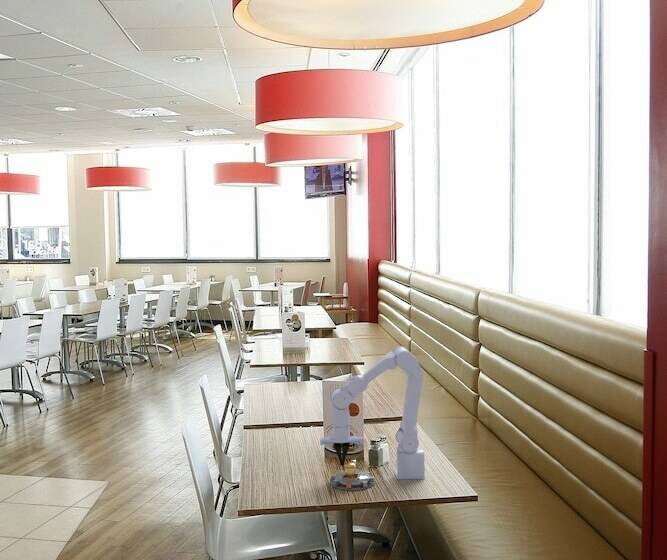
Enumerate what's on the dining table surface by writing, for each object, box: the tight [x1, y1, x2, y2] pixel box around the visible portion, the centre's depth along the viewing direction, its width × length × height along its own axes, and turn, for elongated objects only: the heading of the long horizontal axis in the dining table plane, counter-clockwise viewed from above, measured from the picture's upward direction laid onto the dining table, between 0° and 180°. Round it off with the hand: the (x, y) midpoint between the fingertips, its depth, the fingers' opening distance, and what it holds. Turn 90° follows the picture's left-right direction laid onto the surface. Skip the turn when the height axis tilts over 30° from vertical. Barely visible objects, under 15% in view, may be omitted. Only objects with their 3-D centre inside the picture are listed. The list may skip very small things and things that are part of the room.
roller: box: [344, 461, 355, 478], centre depth 240 cm, size 3×3×5 cm
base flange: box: [329, 478, 376, 492], centre depth 243 cm, size 15×15×1 cm
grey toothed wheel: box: [330, 459, 375, 488], centre depth 243 cm, size 14×14×6 cm
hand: (342, 464), depth 247 cm, fingers closed
